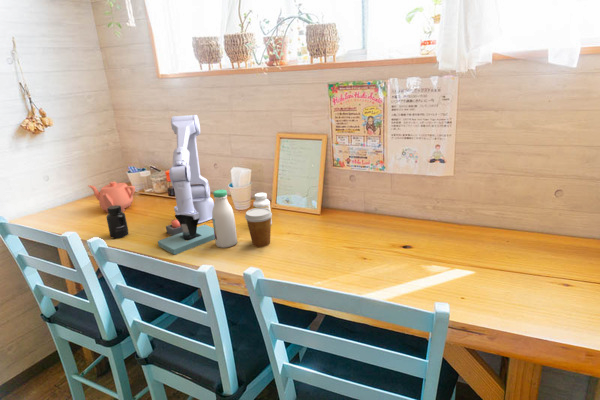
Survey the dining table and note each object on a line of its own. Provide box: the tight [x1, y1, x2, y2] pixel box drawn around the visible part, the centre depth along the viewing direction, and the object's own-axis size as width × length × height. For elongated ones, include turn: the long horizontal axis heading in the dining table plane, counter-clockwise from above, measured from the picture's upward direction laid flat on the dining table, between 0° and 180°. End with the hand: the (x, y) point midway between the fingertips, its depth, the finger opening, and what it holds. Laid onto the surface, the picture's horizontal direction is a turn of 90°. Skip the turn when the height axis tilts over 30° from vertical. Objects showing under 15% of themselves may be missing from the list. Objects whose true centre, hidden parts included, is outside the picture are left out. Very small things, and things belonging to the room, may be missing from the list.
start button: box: [170, 218, 181, 228], centre depth 160 cm, size 3×3×4 cm
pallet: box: [157, 224, 215, 256], centre depth 152 cm, size 20×12×2 cm, turn 135°
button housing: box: [165, 223, 182, 237], centre depth 160 cm, size 6×6×3 cm
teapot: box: [88, 181, 136, 214], centre depth 193 cm, size 16×17×14 cm
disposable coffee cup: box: [244, 207, 273, 248], centre depth 144 cm, size 10×10×12 cm
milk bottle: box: [211, 189, 238, 249], centre depth 144 cm, size 8×8×20 cm
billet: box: [181, 222, 196, 241], centre depth 150 cm, size 4×4×6 cm
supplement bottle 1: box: [106, 205, 129, 239], centre depth 160 cm, size 7×7×12 cm
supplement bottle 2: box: [252, 192, 273, 225], centre depth 161 cm, size 7×7×13 cm
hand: (189, 233), depth 151 cm, fingers closed on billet, 4 cm apart
